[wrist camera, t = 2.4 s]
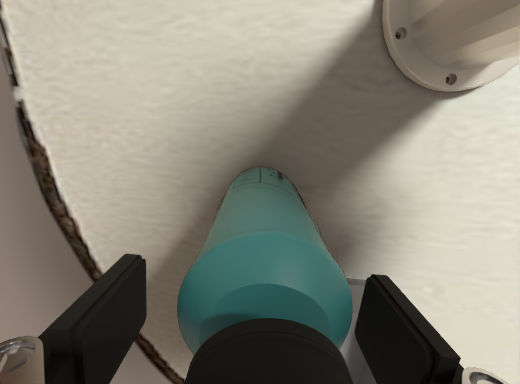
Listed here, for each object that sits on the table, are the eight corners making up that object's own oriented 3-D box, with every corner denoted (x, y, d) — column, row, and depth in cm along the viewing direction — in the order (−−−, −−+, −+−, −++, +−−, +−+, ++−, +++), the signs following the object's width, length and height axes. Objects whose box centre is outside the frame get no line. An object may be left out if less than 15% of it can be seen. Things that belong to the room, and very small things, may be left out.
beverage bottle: (218, 215, 24) (53, 573, 5) (240, 150, 23) (125, 304, 3) (281, 236, 25) (354, 631, 5) (307, 175, 23) (541, 428, 4)
